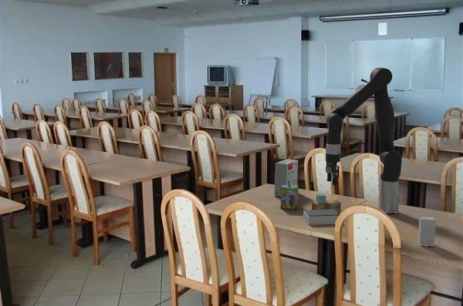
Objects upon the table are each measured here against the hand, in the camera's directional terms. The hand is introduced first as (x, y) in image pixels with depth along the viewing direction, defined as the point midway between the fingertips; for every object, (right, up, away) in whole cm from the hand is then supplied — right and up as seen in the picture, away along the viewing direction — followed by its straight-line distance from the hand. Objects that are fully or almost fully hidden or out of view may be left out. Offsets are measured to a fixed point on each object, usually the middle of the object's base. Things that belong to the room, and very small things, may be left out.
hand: (331, 183), depth 261 cm
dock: (-7, -18, -11) cm, 23 cm away
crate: (-5, -10, +1) cm, 11 cm away
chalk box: (-20, -14, +13) cm, 28 cm away
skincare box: (+32, -24, -43) cm, 59 cm away
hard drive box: (-20, -9, +39) cm, 44 cm away
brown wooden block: (-2, -16, +3) cm, 16 cm away
